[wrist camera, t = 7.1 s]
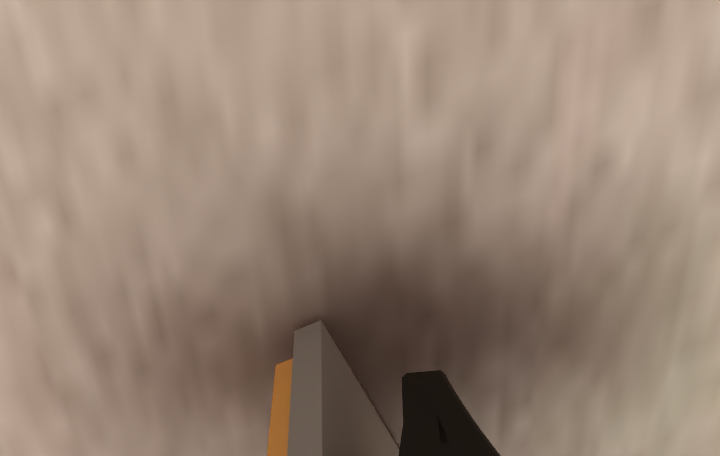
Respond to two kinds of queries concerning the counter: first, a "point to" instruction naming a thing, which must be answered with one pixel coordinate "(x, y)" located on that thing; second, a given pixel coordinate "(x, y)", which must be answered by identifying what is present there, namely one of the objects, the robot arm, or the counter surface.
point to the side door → (323, 404)
